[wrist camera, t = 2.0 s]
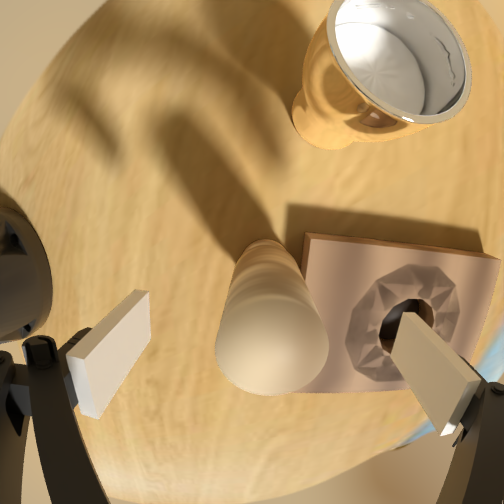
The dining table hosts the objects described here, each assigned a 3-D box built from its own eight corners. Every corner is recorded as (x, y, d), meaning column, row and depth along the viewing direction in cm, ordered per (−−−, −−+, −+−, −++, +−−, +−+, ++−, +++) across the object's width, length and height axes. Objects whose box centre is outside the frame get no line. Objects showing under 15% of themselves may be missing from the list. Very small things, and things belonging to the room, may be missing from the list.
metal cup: (283, 150, 24) (319, 110, 9) (287, 72, 22) (319, -37, 8) (365, 160, 24) (480, 147, 9) (367, 84, 22) (464, 9, 8)
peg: (234, 288, 27) (213, 391, 13) (239, 233, 25) (217, 294, 12) (290, 292, 27) (317, 397, 13) (297, 238, 25) (338, 304, 12)
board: (284, 373, 29) (286, 392, 26) (305, 231, 25) (310, 238, 22) (449, 368, 29) (461, 382, 26) (484, 252, 25) (501, 260, 22)
